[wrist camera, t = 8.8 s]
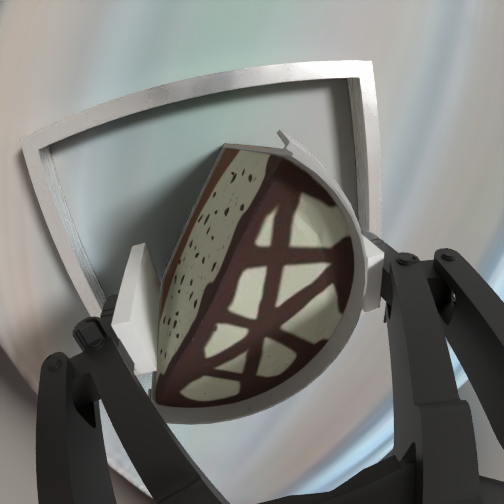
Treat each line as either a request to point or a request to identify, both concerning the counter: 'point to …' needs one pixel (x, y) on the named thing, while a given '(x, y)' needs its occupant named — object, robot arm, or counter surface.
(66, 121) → the grey square frame
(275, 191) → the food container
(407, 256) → the robot arm
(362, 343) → the counter surface
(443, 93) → the counter surface
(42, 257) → the counter surface
